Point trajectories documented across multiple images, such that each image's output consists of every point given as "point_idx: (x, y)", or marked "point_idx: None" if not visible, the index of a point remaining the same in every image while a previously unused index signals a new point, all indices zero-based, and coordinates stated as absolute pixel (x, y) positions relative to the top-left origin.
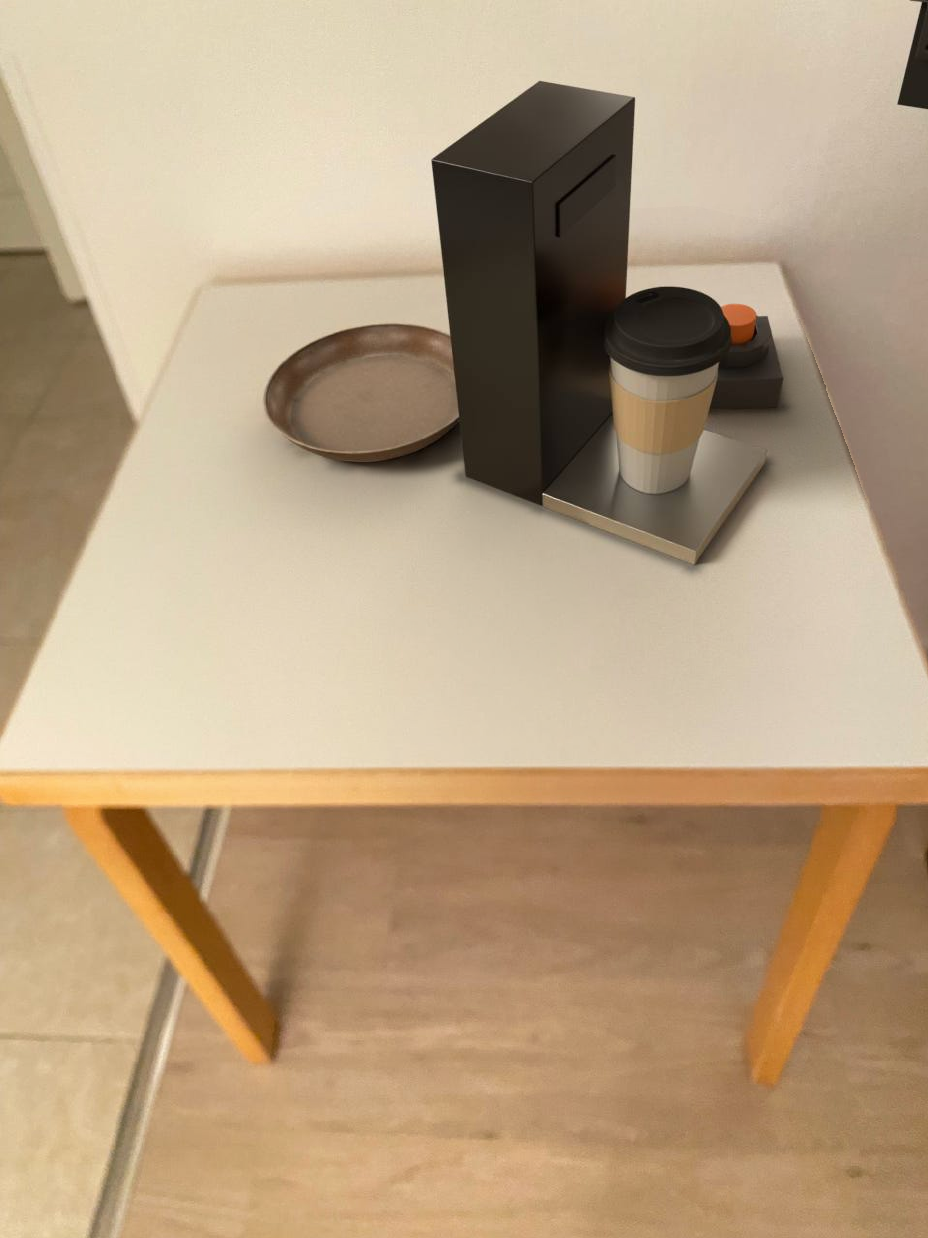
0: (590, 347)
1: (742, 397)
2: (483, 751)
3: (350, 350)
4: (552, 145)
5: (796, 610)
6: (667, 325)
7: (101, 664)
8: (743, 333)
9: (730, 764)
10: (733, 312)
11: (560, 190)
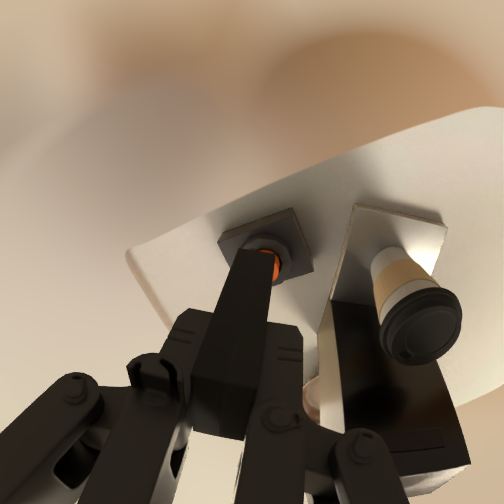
0: (382, 350)
1: (301, 233)
2: None
3: (313, 411)
4: (426, 478)
5: (462, 166)
6: (437, 335)
7: (481, 387)
8: (275, 258)
9: None
10: None
11: (443, 452)
